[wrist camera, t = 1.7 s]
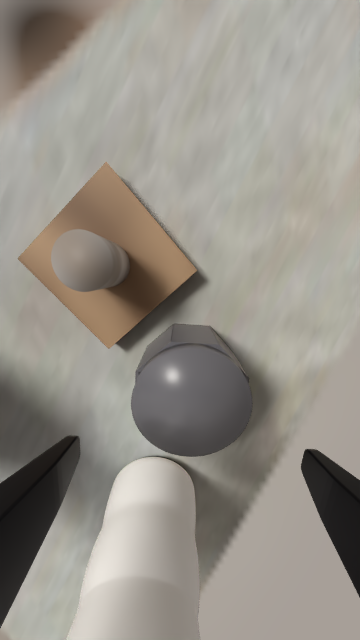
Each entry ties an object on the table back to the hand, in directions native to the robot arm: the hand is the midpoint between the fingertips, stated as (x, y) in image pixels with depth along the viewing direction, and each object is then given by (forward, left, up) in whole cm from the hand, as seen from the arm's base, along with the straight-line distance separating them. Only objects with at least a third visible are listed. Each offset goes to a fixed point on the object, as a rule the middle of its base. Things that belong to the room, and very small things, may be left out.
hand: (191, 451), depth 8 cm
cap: (0, 0, -8) cm, 8 cm away
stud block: (+1, +9, -8) cm, 12 cm away
